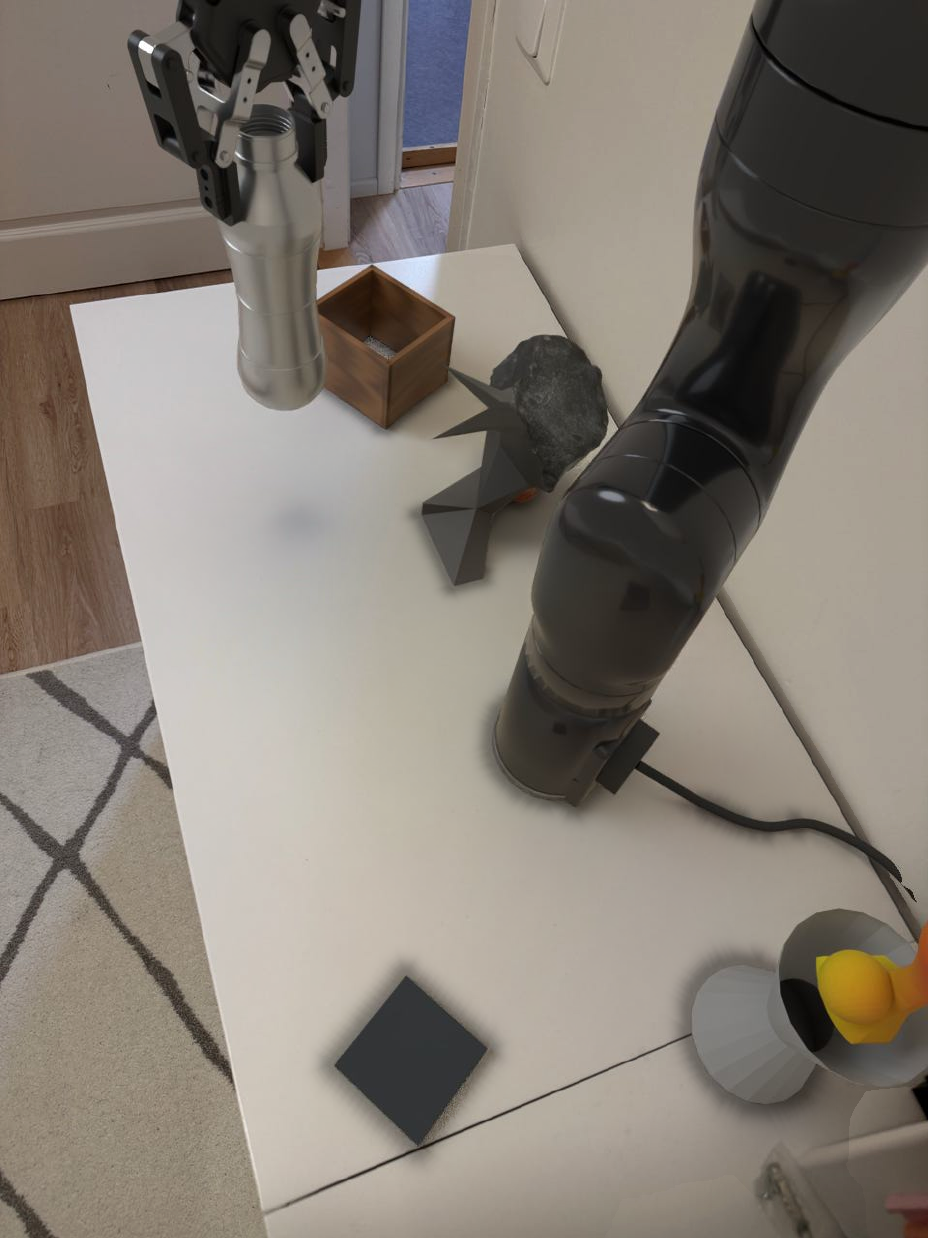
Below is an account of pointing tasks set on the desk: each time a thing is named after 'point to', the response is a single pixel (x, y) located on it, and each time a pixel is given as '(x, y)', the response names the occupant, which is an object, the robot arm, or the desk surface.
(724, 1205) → the desk surface
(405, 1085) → the mat
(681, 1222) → the desk surface
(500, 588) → the desk surface
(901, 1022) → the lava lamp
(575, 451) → the grey spiky piece
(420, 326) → the crate
